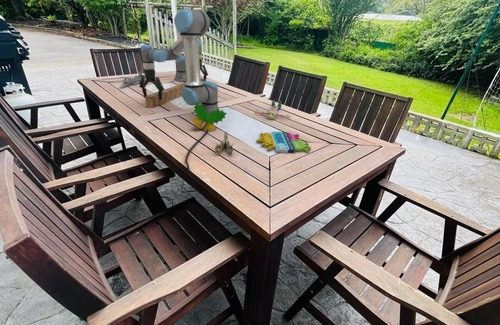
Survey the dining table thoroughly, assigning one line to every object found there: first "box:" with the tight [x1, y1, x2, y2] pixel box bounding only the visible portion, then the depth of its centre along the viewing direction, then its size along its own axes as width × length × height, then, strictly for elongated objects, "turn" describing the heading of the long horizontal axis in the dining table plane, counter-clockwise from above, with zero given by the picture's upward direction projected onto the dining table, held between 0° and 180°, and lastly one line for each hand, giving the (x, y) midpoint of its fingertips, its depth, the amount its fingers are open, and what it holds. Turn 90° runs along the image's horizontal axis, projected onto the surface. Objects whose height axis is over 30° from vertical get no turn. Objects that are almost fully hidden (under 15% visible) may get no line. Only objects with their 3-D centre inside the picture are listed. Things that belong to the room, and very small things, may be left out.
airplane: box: [119, 68, 145, 89], centre depth 248 cm, size 38×31×10 cm
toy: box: [253, 99, 292, 120], centre depth 196 cm, size 28×7×30 cm
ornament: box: [191, 102, 228, 132], centre depth 162 cm, size 21×8×15 cm, turn 105°
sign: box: [256, 131, 312, 154], centre depth 152 cm, size 26×2×30 cm
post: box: [144, 78, 204, 108], centre depth 223 cm, size 77×5×8 cm, turn 160°
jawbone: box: [214, 131, 234, 156], centre depth 136 cm, size 9×15×10 cm
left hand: (198, 82), depth 251 cm, fingers open, 13 cm apart
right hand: (153, 98), depth 195 cm, fingers open, 13 cm apart
